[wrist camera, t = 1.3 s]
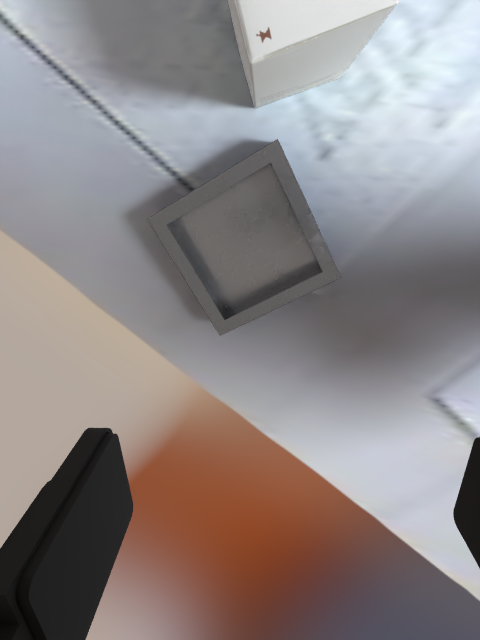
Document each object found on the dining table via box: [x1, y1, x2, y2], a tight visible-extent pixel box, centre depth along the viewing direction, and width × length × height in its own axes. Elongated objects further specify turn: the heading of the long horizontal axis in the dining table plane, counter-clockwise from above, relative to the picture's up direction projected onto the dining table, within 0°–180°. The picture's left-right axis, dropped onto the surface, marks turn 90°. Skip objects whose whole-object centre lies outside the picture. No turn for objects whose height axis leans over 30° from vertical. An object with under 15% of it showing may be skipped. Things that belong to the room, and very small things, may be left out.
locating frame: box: [147, 139, 341, 335], centre depth 31 cm, size 12×12×3 cm
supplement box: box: [228, 0, 399, 108], centre depth 21 cm, size 7×7×13 cm
